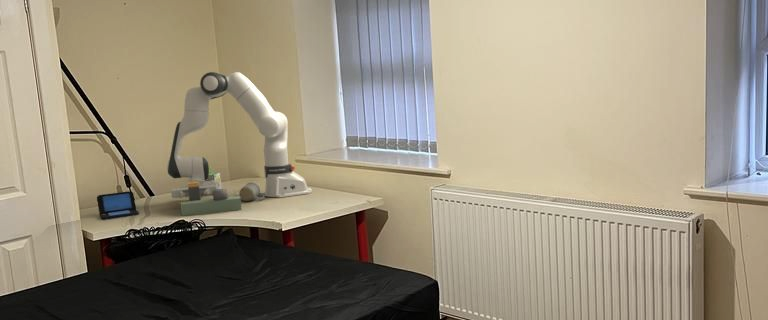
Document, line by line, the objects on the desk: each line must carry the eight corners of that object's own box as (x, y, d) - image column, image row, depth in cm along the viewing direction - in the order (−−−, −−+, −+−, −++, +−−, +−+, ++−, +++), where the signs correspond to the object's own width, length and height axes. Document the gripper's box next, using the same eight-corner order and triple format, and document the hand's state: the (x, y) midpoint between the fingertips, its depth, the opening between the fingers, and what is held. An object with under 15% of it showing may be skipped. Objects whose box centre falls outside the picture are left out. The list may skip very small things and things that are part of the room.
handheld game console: (102, 221, 306) (99, 199, 305) (98, 215, 318) (96, 195, 317) (139, 215, 313) (137, 194, 312) (135, 210, 325) (132, 190, 324)
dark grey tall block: (201, 208, 318) (198, 180, 316) (201, 211, 313) (198, 182, 311) (191, 209, 317) (188, 181, 316) (190, 212, 312) (187, 183, 310)
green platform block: (240, 204, 322) (239, 184, 321) (241, 209, 310) (239, 189, 309) (183, 210, 317) (181, 190, 315) (182, 215, 305) (180, 195, 303)
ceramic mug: (239, 202, 327) (237, 185, 325) (245, 198, 335) (244, 182, 333) (261, 202, 325) (259, 185, 323) (267, 198, 333) (266, 182, 331)
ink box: (216, 194, 349) (213, 167, 347) (208, 195, 350) (205, 168, 348) (222, 192, 356) (219, 165, 354) (214, 192, 357) (212, 165, 355)
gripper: (171, 184, 324) (169, 189, 310) (217, 179, 328) (217, 184, 315) (172, 197, 325) (170, 203, 311) (218, 193, 329) (218, 198, 316)
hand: (194, 193), depth 313 cm, fingers open, 8 cm apart
